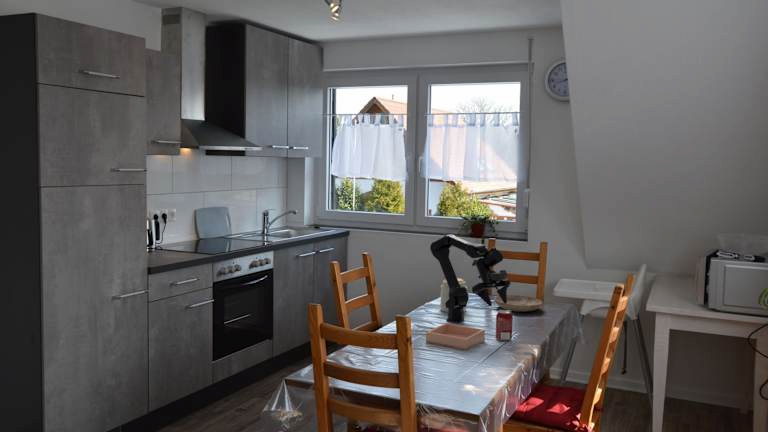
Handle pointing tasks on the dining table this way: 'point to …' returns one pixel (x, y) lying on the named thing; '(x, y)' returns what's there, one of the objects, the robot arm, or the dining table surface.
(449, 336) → the terracotta tray
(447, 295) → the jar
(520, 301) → the ceramic bowl
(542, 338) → the dining table surface
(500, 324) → the soda can
